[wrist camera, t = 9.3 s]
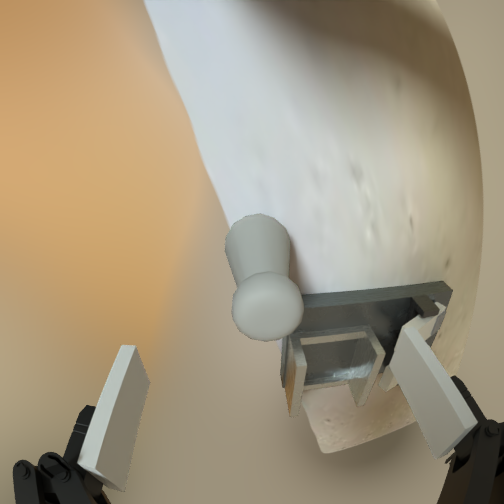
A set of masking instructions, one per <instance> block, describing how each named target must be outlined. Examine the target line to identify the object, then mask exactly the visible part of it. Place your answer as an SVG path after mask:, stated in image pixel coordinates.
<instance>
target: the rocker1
mask: <svg viewBox="0 0 504 504" xmlns="http://www.w3.org/2000/svg"><path fill="white" fill-rule="evenodd" d="M435 304H436V305H437V307H438V308H439V309H440V311H439V314H438V315H436V316H432V317H427V318H422V317H421V316H420V314H419V315H418V316H416V317H415V318H413V319H412V320H411V321H409V322H408V323H406V324H405V325H403V326H402V329H401V332H400V335H401V333H402V330H403V329H405V328H410V327H415V328H416V329H417V331H418V332H419V334H420V335H421V336H422V338H423V339H424V340H426V339H428V338H429V337H430V336H431V335H433V334H435V333H436V332H437V331H438V330H439V329H440V326H441V324H442V322H443V319H444V316H445V314H446V311H445V309H446V307H445V306H444V305H442V304H440V303H439V302H435ZM400 335H399V338H400ZM399 338H398V340H397V343H396V346H397V344H398V341H399ZM396 346H395V348H394V351H395V349H396Z"/></svg>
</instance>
